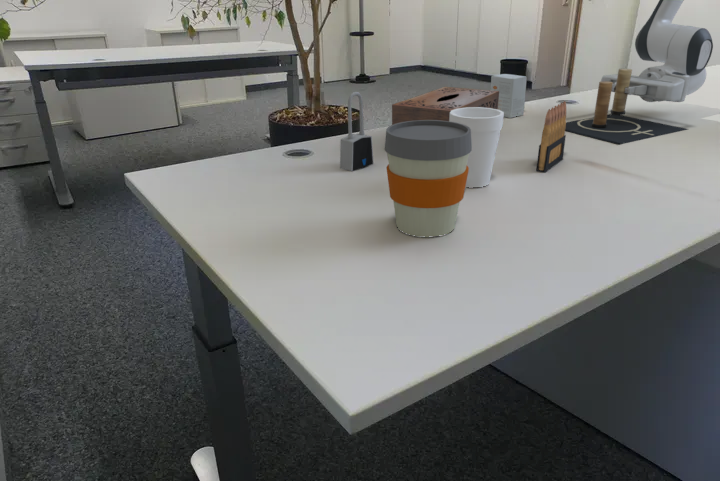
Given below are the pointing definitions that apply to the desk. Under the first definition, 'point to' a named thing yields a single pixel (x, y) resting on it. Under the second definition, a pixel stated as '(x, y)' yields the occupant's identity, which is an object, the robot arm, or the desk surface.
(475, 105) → the tissue box cover
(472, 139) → the foam cup
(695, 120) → the desk surface
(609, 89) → the beech stamp
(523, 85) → the small box
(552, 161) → the ammunition clip
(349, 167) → the padlock
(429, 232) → the reusable coffee cup
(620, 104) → the birch stamp
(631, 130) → the desk pad
